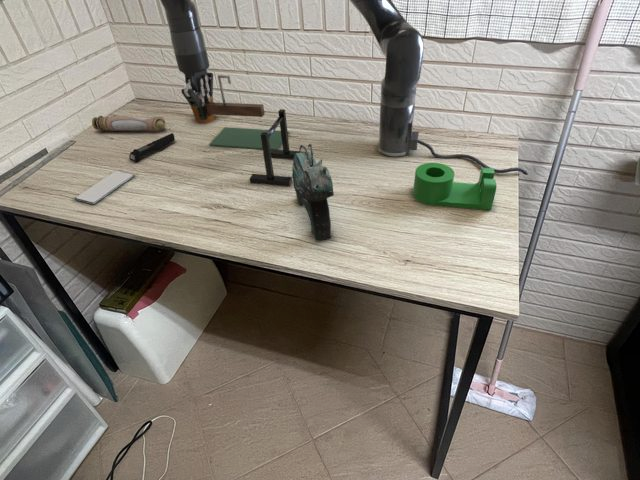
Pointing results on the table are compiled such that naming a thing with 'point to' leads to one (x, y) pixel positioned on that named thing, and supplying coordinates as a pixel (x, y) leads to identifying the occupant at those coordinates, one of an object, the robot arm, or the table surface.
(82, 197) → the smartphone
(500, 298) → the table surface
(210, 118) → the disposable coffee cup
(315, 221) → the toy ray gun
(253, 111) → the brown bar with hook
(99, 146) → the table surface
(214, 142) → the mat
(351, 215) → the table surface
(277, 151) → the rail stand
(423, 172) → the green bracket
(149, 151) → the electric trimmer
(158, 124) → the tan rolled cylinder
